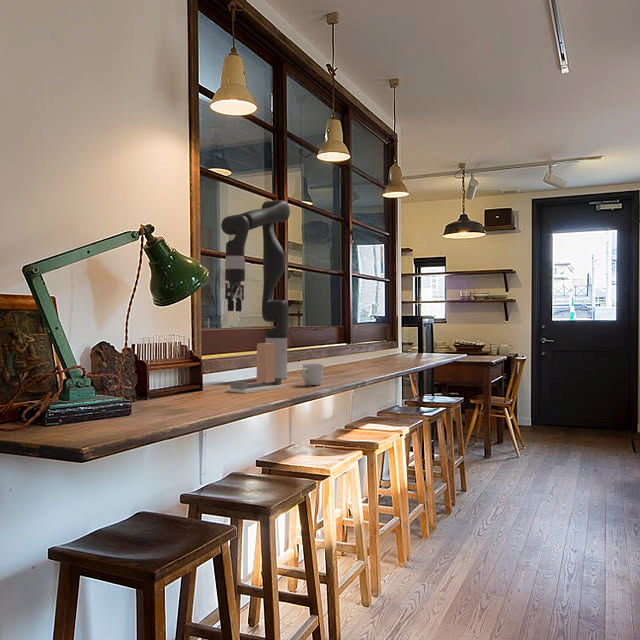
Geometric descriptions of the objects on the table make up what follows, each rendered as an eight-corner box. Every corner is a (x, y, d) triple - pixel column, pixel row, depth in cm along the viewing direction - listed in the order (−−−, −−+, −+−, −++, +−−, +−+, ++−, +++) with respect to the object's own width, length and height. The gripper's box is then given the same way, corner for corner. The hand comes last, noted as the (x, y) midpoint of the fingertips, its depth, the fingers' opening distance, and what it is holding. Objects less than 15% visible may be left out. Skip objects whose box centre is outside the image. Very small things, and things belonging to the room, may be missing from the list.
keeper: (265, 382, 216) (266, 343, 216) (256, 381, 219) (256, 343, 219) (274, 381, 220) (275, 343, 220) (265, 380, 223) (266, 343, 223)
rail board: (245, 393, 205) (245, 382, 205) (226, 391, 210) (226, 381, 210) (284, 387, 221) (285, 378, 221) (266, 385, 227) (266, 376, 227)
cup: (311, 387, 223) (311, 365, 223) (294, 385, 228) (294, 364, 228) (327, 384, 232) (327, 364, 232) (310, 383, 237) (310, 363, 237)
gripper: (238, 266, 220) (237, 311, 220) (250, 270, 234) (250, 311, 234) (218, 267, 222) (218, 311, 222) (232, 270, 236) (231, 311, 236)
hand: (234, 311), depth 228 cm, fingers open, 8 cm apart
